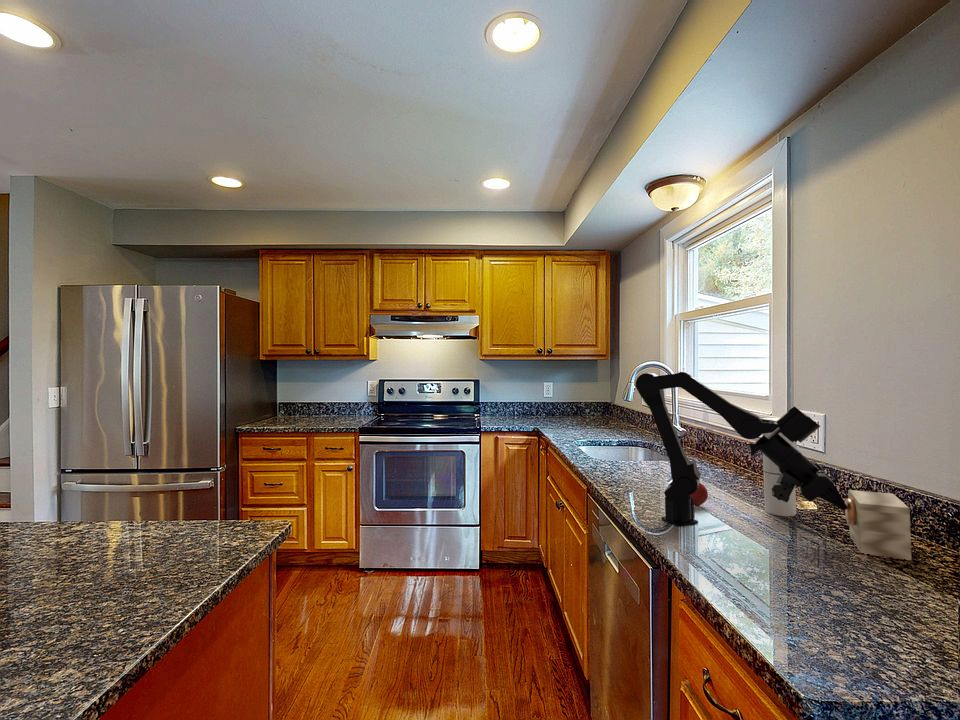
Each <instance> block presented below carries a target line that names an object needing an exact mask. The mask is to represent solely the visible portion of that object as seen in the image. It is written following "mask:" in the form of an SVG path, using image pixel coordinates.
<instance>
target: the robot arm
mask: <svg viewBox="0 0 960 720" xmlns="http://www.w3.org/2000/svg"><path fill="white" fill-rule="evenodd" d="M635 388H636V390H637V392H638V394H639V395H640V397H641V399H642V400H643V401H644V403H645V404H646V406H647V407H648V408H649V410H650V413H651V416H652V417H653V420H654V423H655V425H656V428H657V431H658V434H659V437H660V439H661V441H662V444H663V446H664V449H665V451H666V454H667V457H668V459H669V467H670V475H671V480H672V481H671V482H670V483H669V484H668V485H667V486H666V488H665V490H664V516H661V518H660V519H661V520H662V519H663V520H662V521H665V522H667V523H670V524H672V525H675V526H677V527H682V526H689V525H694V524H698V523H699V520H697V519H695V511H694V510H695V507H694V506H695V505H694V503H693V497H690V496H689V495H691V494H693V493H694V492H695V491H696V490H697V488H698V485H699V482H700V483H701V481H700V480H701V476H702V473H701V472H700V470H699V469H698V466H697V462H696V461H697V460H696V459H692V460H690V459H689V458H688V456H687V455H686V453H685V450H684V448H683V446H682V444H681V443H682V442H681V441H680V438H679V436H678V433H677V431H676V428H675V426H674V422H673V420H672V418H671V415H670V412H669V410H668V407H667V405H666V400H665V391H664V390H667V389H674V388H681V389H683V390H684V391H686V392H687V393H688V394H690V395H691V396H692V397H694V399H695V398H696V399H697V400H698V401H699V402H701V403H703V404H704V405H706V406H707V407H708V408H710V409H711V410H712V411H714V412H715V413H717V414H718V415H719V416H720V417H722V418H723V419H724V420H725V422H727V423H728V425H729V426H730V427H731V428H732V429H733V430H735V432H736V433H737V434H738V435H739V436H740V437H741V438H743V439H746V440H755V439H757V438H758V439H757V440H756V441H754V442H751V441H750V442H748V445H749V448H750V449H749V450H750V455H751V456H755V454H756V453H758V452H760V453H761V454H762V455H763V454H764V455H765V456H766V457H767V458H768V459H770V460H771V461H772V462H773V463H774V464H775V465H776V466H777V467H778V468H779V471H780V472H781V475H780V476H779V478H778V480H777V482H776V483H774V486H773V488H771V489H772V496H774V497H776V498H777V499H778V500H782V501H784V502H786V503H787V502H788V501H789V499H790V498H789V497H790V495H791V493H792V491H793V489H794V487H795V488H797V489H798V488H799V489H800V493H801V496H802V497H803V498H805V500H807V501H808V502H809V503H811V502H813V501H814V500H815V499H816V498H821V499H822V500H824V501H826V502H828V503H830V504H832V505H833V506H834V507H836V508H838V509H840V510H842V511H844V512H845V510H846V509H847V505H846V504H845V499H843V497H842V495H841V494H840V492H839V490H838V488H837V487H836V485H835V482H833V479H832V478H831V477H830V476H829V474H828V473H822V471H823V470H824V468H823V467H822V466H821V465H820V464H819V462H818V463H817V461H813V460H810V459H808V458H807V457H806V456H805V455H804V454H803V453H802V452H801V451H800V450H798V449H797V448H796V447H795V446H794V447H793V446H792V445H790V444H789V443H788V442H787V441H786V440H785V439H783V438H782V437H781V436H780V435H779V433H780V432H781V433H782V434H783V435H784V436H785V437H786V438H788V439H789V440H790V441H791V442H794V443H796V442H798V443H803V441H805V440H806V439H807V438H809V437H810V436H811V435H812V434H813V433H814V432H816V431H817V430H819V428H821V425H820V424H818V422H816V421H815V420H813V418H811V417H810V416H808V414H806V413H803V412H802V410H800V409H798V407H796V406H795V405H792V406H791V407H790V408H789V409H788V410H787V411H786V413H784V414H783V415H782V416H781V417H779V418H780V419H779V420H777V421H773V420H766V419H763V418H761V417H760V416H759V415H757V414H756V413H753V412H751V411H749V410H747V409H745V408H742V407H740V406H738V405H735V404H733V403H731V402H730V401H728V400H727V399H725V398H724V397H723V396H721V395H719V394H718V393H717V392H715V391H713V390H712V389H711V388H709V386H706V385H705V384H703V383H702V382H701V381H699V380H697V379H696V378H695V377H693V376H692V374H691V373H690V372H687V371H680V372H677V373H670V374H662V375H658V374H656V373H654V372H646V373H641V374H639V376H638V377H637V378H636V380H635ZM778 427H779V428H778ZM777 428H778V429H777ZM776 429H777V430H776ZM775 430H776V431H775ZM774 431H775V432H774ZM772 432H774V433H772ZM765 433H772V434H771V435H770V436H768V437H767V436H765V435H763V436H762V434H765ZM759 437H760V438H759ZM819 471H821V472H819Z"/></svg>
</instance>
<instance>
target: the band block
mask: <svg viewBox="0 0 960 720" xmlns="http://www.w3.org/2000/svg"><path fill="white" fill-rule="evenodd" d="M847 494H848V496H847V497H848V498H847V499H854V501H855V505H856V513H857V522H856V525H848V526H849V536H850V538H851V540H852V541H853V543H854V545H855V544H856V545H855V546H856V548H857V549H858V551H859V552H861V553H864V554H863V555H867V554H870V555H869V556H876V557H882V556H885V558H889V557H893V558H892V559H897V558H899V559H898V560H904V559H905V560H907V561H912V541H911V540H912V539H911V515H910V507H909V506H908V505H906V504H905V503H904V502H903V501H902V500H901V499H900V498H898V497H897V496H896V495H895V494H894V493H890V492H889V493H888V492H876V491H867V490H866V491H865V490H856V489H853V490H851V489H847ZM861 553H860V554H861Z"/></svg>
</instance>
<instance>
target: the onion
mask: <svg viewBox="0 0 960 720" xmlns="http://www.w3.org/2000/svg"><path fill="white" fill-rule="evenodd" d="M689 496H690V497H693V503H694V506H695V507H697V508H698V507H700V506H701V505H703V504H704V503H705V502H706V501H708V498H709V497H708V496H709V494H708V489H707V488H706V486H705V485H704V484H702V483H701V481H700V482H699V485H698V488H697V490H696V491H695V492H694V493H693V494H691V495H689Z"/></svg>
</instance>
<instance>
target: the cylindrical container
mask: <svg viewBox="0 0 960 720" xmlns="http://www.w3.org/2000/svg"><path fill="white" fill-rule="evenodd" d="M780 418H781V417H766V418H765V417H764V418H762V419H766V420H773V421H777V420H779V419H780ZM778 428H779V427H778ZM778 428H777V429H778ZM777 429H776V430H777ZM776 430H775V431H776ZM775 431H774V432H775ZM774 432H772V433H774ZM772 433H765V434H762V435H761V437H762V436H763V435H765V436H767V437H768V436H770V435H771V434H772ZM779 435H780V436H781V437H782V438H783V439H785V440H786V441H787V442H788V443H789V444H790V445H792V446H793V447H794V448H795V446H794V445H795V441H794V442H791V441H790V440H789V439H788V438H786V437H785V436H784V435H783V434H782V433H781V432H780V433H779ZM762 461H763V462H762V463H763V464H762V467H763V469H762V470H763V492H764V494H763V498H764V511H765V512H766V513H768V514H770V515H774V516H778V517H779V516H780V517H795V516H796V515H797V503H796V502H797V499H796V486H795V487H794V489H793V491H792V493H791V495H790V497H789V498H790V499H789V501H788V502H787V503H786V502H784V501H782V500H778V499H777V498H776V497H774V496H772V489H771V488H773V486H774V483H776V482H777V480H778V478H779V476H780V475H781V472H780V471H779V468H778V467H777V466H776V465H775V464H774V463H773V462H772V461H771V460H770V459H768V458H767V457H766V456H765V455H764V454H763V453H762Z"/></svg>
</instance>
